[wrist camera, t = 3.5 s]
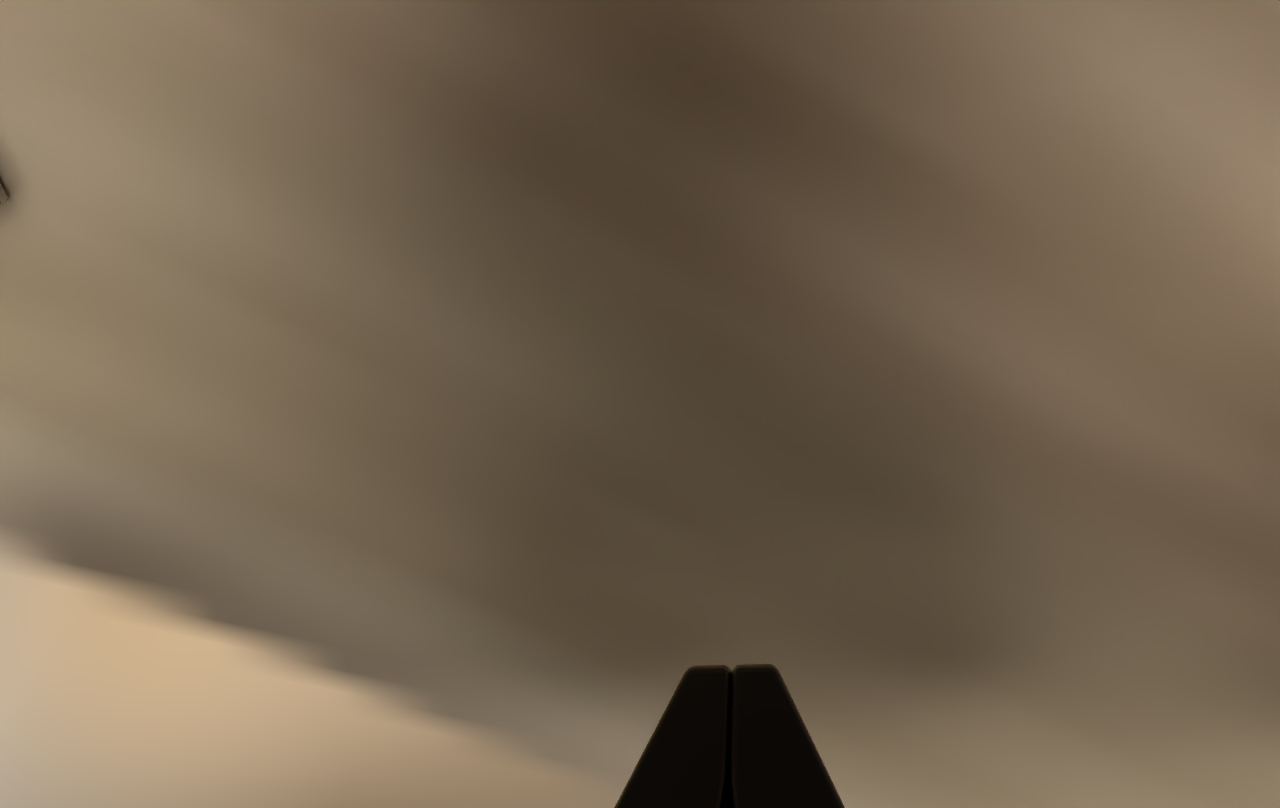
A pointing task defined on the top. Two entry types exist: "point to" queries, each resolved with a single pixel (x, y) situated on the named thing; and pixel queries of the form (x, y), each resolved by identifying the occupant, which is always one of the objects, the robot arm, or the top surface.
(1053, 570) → the top surface
